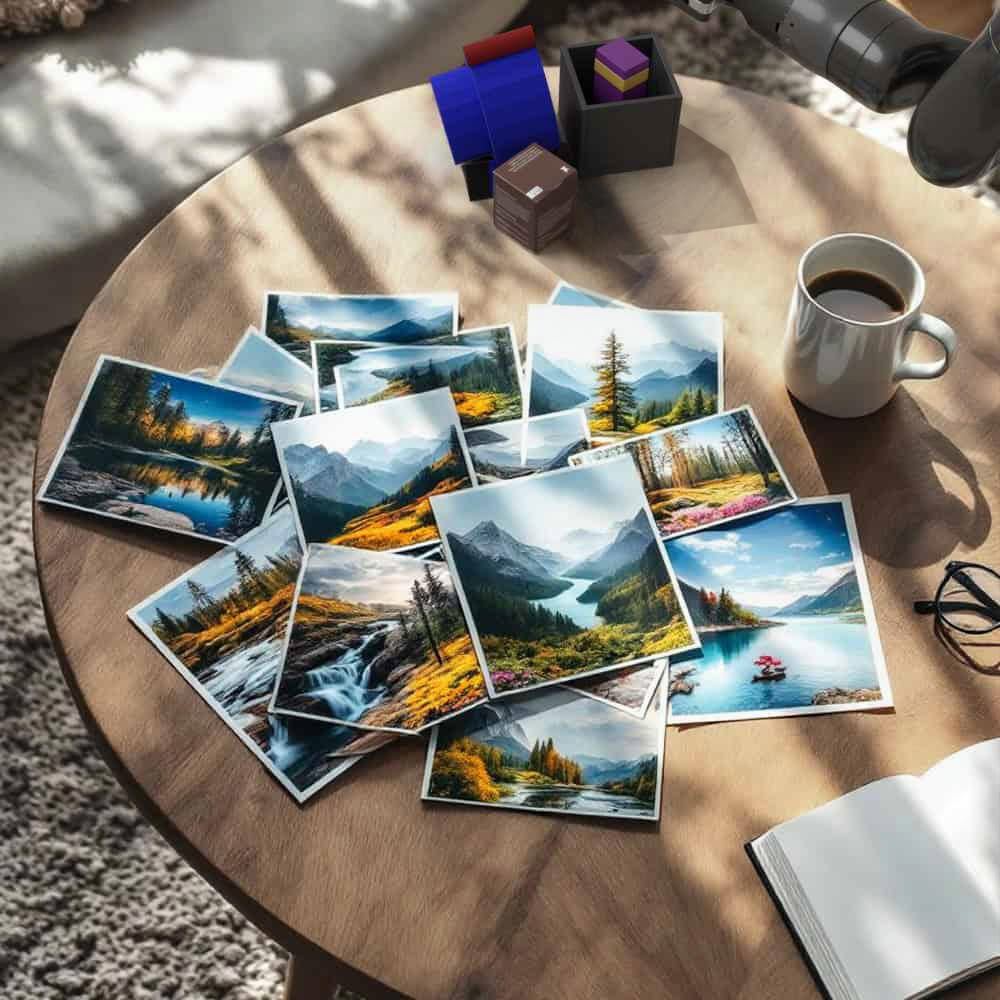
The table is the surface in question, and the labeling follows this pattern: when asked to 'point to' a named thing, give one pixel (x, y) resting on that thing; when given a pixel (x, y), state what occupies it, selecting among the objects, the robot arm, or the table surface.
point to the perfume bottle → (619, 73)
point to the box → (534, 197)
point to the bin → (618, 113)
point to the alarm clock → (495, 106)
